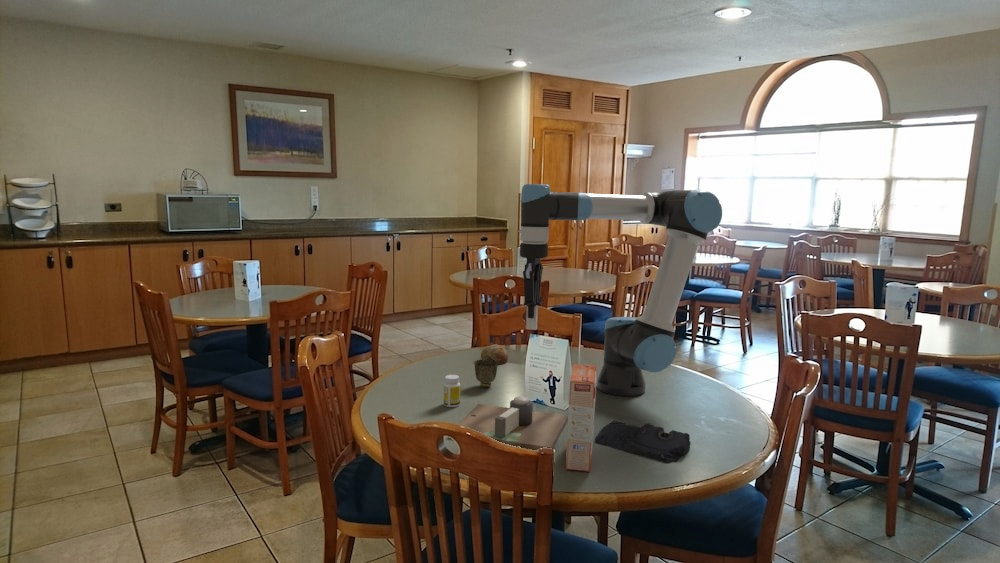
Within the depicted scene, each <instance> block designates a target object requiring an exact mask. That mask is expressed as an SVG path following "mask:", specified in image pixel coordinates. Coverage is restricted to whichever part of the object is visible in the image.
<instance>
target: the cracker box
mask: <svg viewBox="0 0 1000 563" xmlns="http://www.w3.org/2000/svg"><path fill="white" fill-rule="evenodd" d="M596 395H597V365H594V364H579V363H574V364H573V365H572V368H571V374H570V380H569V391H568V408H567V410H568V412H567V415H568V421H567V428H566V429H567V431H566V432H567V433H566V452H565V470H570V471H571V470H572V471H578V472H587V473H588V472H591V467H592V455H593V454H592V453H593V445H594V443H593V442H594V430H595V428H594V427H595V413H596V412H595V411H596V399H597V398H596V397H597V396H596Z"/></svg>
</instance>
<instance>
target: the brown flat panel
mask: <svg viewBox="0 0 1000 563" xmlns="http://www.w3.org/2000/svg"><path fill="white" fill-rule="evenodd" d="M509 409H510V407H507V406H506V407H505V406H504V407H503V406H498V405H497V406H496V405H489V404H481V403H477V405H476V406H475V407H473V409H472V410H470V412H468V413H467V415H466V416H465V417H464V418H463V419H462V420H461V421H460V422H459V423H458V424H459V425H461V426H465V427H469V428H471V429H474V430H476V431H479V432H481V433H483V434H485V435H487V436H489V437H491V438H493V439H495V440H497V441H499V442H502V443H505V444H509V445H513V446H520V447H525V448H524V449H526V448H529V449H528V450H532V449H539V448H543V447H547V448H553V449H554V448H555V447H556V444H557V442H558V441H559V438H560V436H561V434H562V432H563V431H564V428H565V427H566V425H567V424H568V414H567V415H566V414H561V413H560V414H558V413H553V412H552V413H550V412H546V411H545V412H543V411H536V410H533V415H532V423H531V424H529V425H519V426H518V427H516V428H515V429H514V430H512V431H511V432H510V433H508V434H507V435H506V436H504V437H503V438H500V437H495V418H496V417H498V416H500V415H501V414H503V413H504V412H506V411H507V410H509Z"/></svg>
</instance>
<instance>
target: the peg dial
mask: <svg viewBox="0 0 1000 563" xmlns="http://www.w3.org/2000/svg"><path fill="white" fill-rule="evenodd" d="M533 405H534V403H533V401H532V400H530V398H528V397H526V396H516V397H514V398H513V399H512V400H510V401H509V408H510V409H509V410H507V411H506V412H504V413H503V414H501V415H500V416H498V417H496V418H495V437H500V438H503V437H504V436H506V435H507V434H508V433H510V432H511V431H512V430H514V429H515V428H516V427H518V426H519V425H529V424H531V423H532V415H533V411H534V406H533Z"/></svg>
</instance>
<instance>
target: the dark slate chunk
mask: <svg viewBox="0 0 1000 563" xmlns="http://www.w3.org/2000/svg"><path fill="white" fill-rule="evenodd" d="M594 438H595V439H594V444H597V445H601V446H604V447H608V448H612V449H615V450H619V451H621V452H623V453H624V452H625V453H628V454H632V455H636V456H639V457H643V458H647V459H651V460H653V461H658V462H661V463H665V464H670V463H677V462H678V461H679V460H680V458H683V457H685V456H686V455H688V452H689V451H690V449H691V441H690V439H691V438H690V434H689V433H687V432H682V431H677V430H674V429H672V430H671V431H669V432H665V429H664V428H663V427H662V426H654V425H653V424H651V423H644V424H643V425H642V426H637V425H634V424H628V423H626V422H622V421H618V420H612V421H610V422H608V423H607V424H606V425H604V426H603V427H602V428H601V429H600V430H599V432H598V434H597V435H596V436H595V437H594Z"/></svg>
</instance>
